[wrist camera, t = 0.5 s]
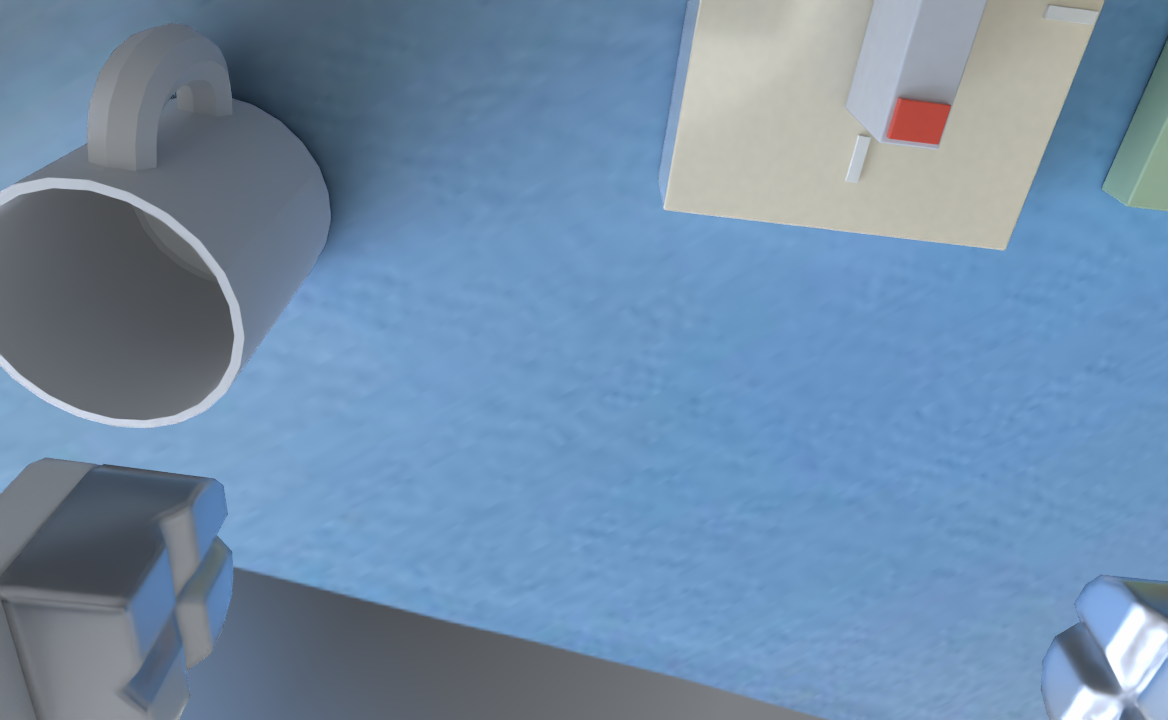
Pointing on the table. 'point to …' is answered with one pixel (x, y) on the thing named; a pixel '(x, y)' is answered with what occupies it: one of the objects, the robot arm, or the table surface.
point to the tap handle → (912, 68)
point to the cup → (156, 240)
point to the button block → (1145, 148)
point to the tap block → (839, 142)
